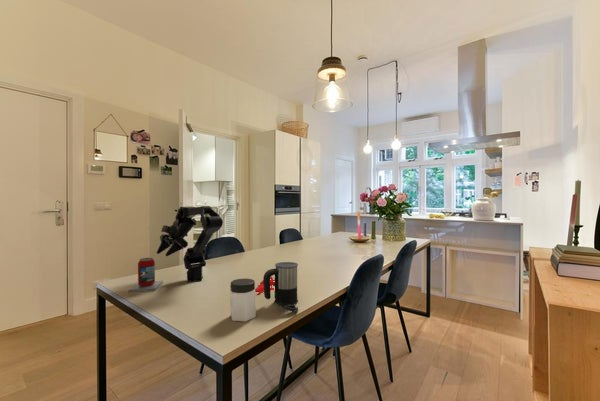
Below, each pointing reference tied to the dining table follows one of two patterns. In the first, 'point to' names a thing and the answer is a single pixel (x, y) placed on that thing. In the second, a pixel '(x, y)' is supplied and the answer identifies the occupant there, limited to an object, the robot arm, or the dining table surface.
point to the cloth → (261, 286)
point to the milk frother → (283, 285)
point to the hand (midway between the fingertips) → (161, 254)
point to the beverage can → (146, 272)
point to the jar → (242, 299)
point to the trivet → (147, 288)
